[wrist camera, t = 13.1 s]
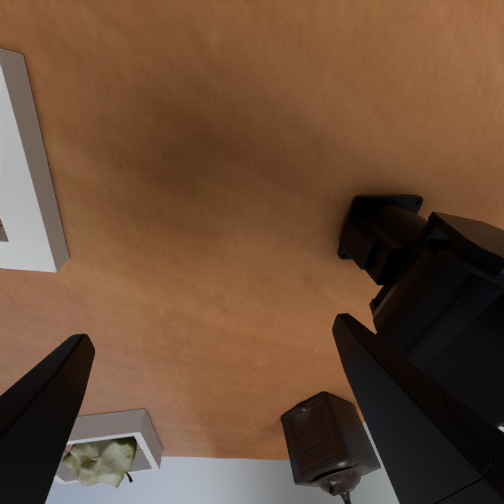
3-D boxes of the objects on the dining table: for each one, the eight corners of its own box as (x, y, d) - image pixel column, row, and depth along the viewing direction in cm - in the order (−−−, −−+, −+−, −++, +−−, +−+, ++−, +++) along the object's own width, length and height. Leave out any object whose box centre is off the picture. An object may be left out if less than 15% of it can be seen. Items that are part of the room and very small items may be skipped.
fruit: (154, 420, 42) (144, 485, 36) (105, 429, 43) (89, 492, 37) (119, 410, 35) (101, 487, 29) (63, 421, 36) (35, 497, 31)
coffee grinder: (321, 388, 40) (383, 562, 26) (355, 403, 45) (423, 555, 31) (256, 427, 45) (277, 590, 31) (294, 436, 51) (327, 580, 36)
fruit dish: (145, 408, 36) (140, 431, 34) (162, 448, 45) (159, 469, 43) (26, 422, 34) (12, 448, 32) (69, 461, 43) (60, 484, 41)
